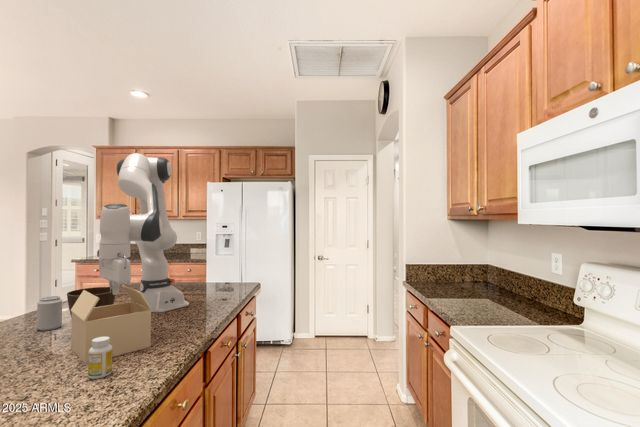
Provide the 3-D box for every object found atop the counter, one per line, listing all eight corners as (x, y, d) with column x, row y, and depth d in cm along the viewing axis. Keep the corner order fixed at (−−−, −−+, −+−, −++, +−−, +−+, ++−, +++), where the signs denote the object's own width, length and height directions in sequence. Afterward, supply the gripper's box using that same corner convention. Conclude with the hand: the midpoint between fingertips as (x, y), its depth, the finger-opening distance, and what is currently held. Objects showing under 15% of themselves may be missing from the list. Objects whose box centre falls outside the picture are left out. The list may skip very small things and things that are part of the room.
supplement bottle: (91, 381, 86) (92, 344, 86) (85, 375, 89) (85, 339, 89) (114, 374, 90) (115, 338, 90) (107, 368, 93) (108, 334, 93)
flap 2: (132, 301, 121) (133, 300, 122) (150, 309, 110) (151, 308, 110) (121, 285, 119) (123, 284, 119) (139, 292, 108) (140, 291, 108)
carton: (131, 334, 121) (131, 301, 122) (150, 346, 109) (151, 310, 110) (70, 348, 108) (71, 311, 109) (85, 364, 96) (85, 322, 96)
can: (47, 332, 124) (48, 299, 124) (31, 330, 125) (32, 299, 126) (66, 326, 131) (67, 295, 132) (51, 324, 133) (51, 294, 133)
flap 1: (85, 321, 97) (83, 320, 96) (72, 310, 108) (70, 310, 108) (99, 298, 99) (98, 297, 99) (85, 290, 111) (83, 289, 111)
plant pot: (125, 330, 126) (125, 288, 126) (88, 344, 112) (89, 296, 112) (94, 327, 130) (95, 286, 130) (55, 340, 116) (56, 293, 116)
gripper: (136, 253, 105) (136, 297, 105) (116, 250, 119) (115, 288, 119) (114, 255, 101) (113, 301, 101) (95, 251, 115) (94, 291, 114)
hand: (114, 294), depth 110 cm, fingers closed
